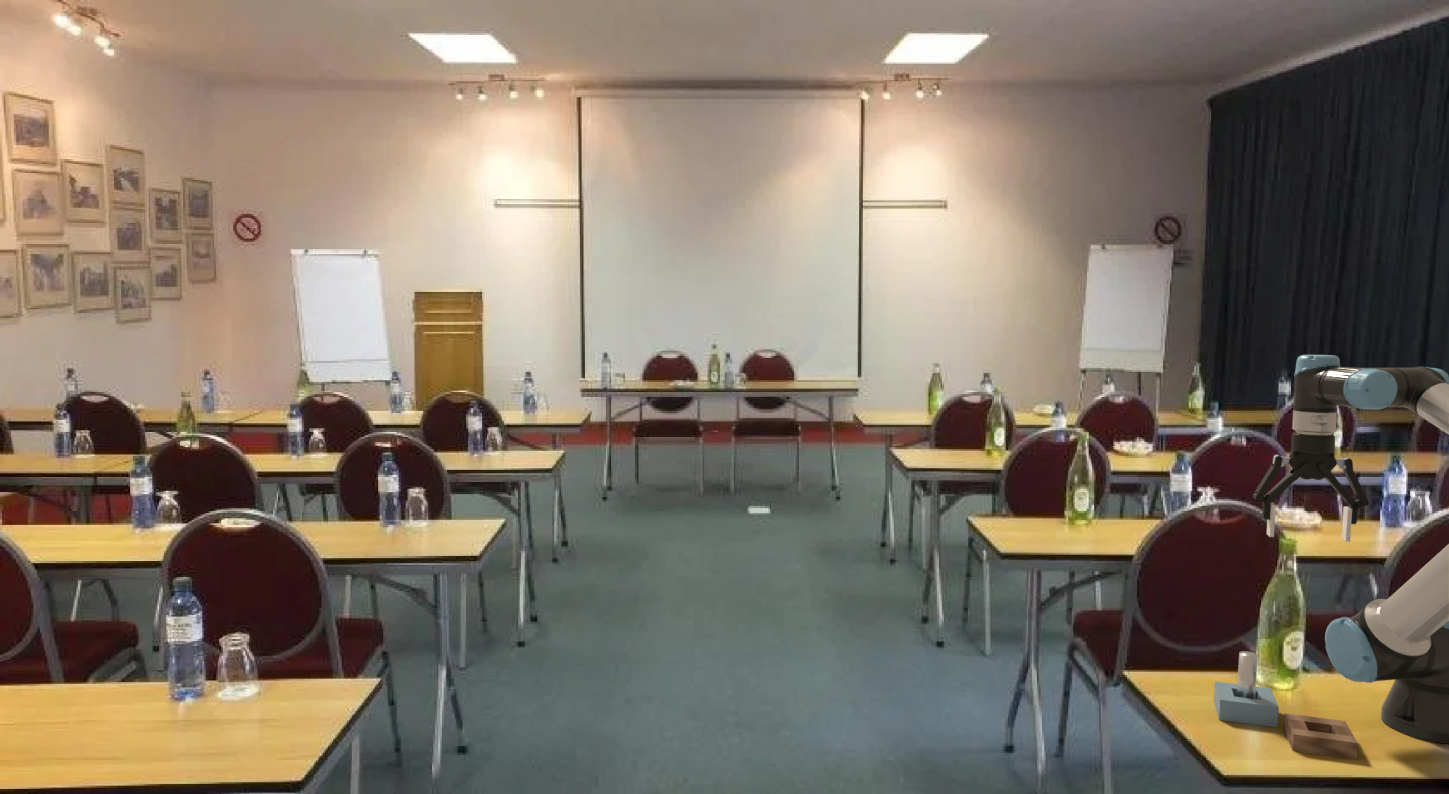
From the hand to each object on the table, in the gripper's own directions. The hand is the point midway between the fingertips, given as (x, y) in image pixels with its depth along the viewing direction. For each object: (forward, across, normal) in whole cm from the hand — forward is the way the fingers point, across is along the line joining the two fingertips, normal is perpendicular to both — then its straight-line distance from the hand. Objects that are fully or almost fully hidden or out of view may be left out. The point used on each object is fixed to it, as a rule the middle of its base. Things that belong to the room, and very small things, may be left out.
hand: (1307, 538), depth 207 cm
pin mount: (+33, -2, -23) cm, 41 cm away
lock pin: (+33, -12, -12) cm, 37 cm away
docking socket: (+33, -12, -12) cm, 37 cm away
